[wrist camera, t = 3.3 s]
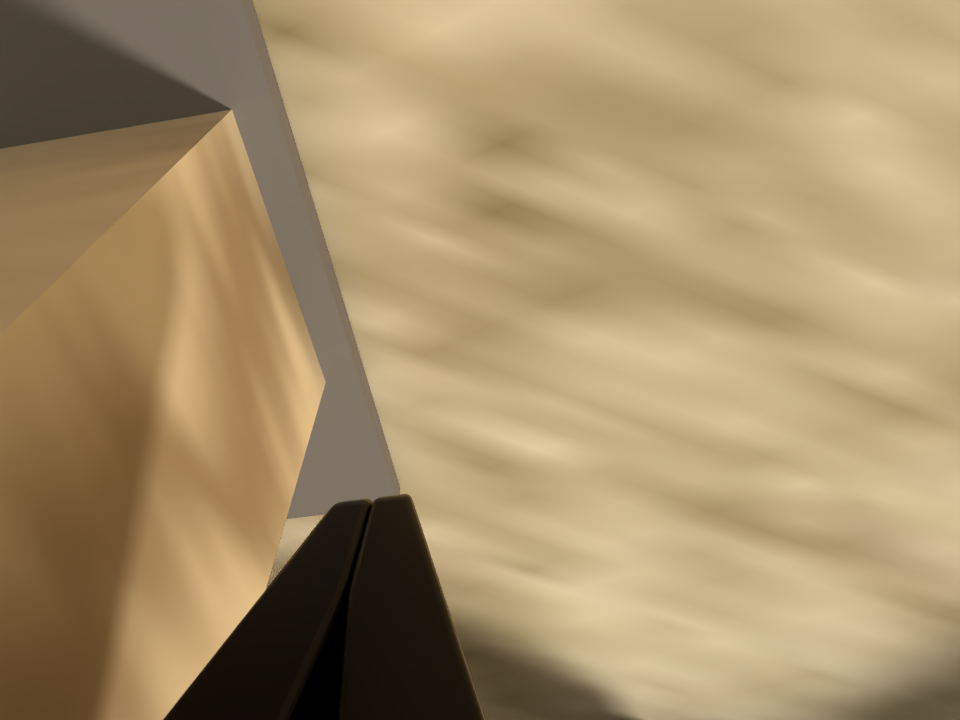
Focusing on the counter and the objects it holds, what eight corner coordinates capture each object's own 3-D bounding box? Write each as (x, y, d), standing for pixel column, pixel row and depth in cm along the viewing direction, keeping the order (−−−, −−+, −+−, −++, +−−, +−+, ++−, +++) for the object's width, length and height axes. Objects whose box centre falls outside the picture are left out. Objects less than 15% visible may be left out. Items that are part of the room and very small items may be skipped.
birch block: (328, 383, 16) (133, 1071, 7) (132, 410, 16) (-305, 1098, 7) (233, 106, 13) (-407, 727, 3) (-11, 147, 13) (-1187, 810, 4)
